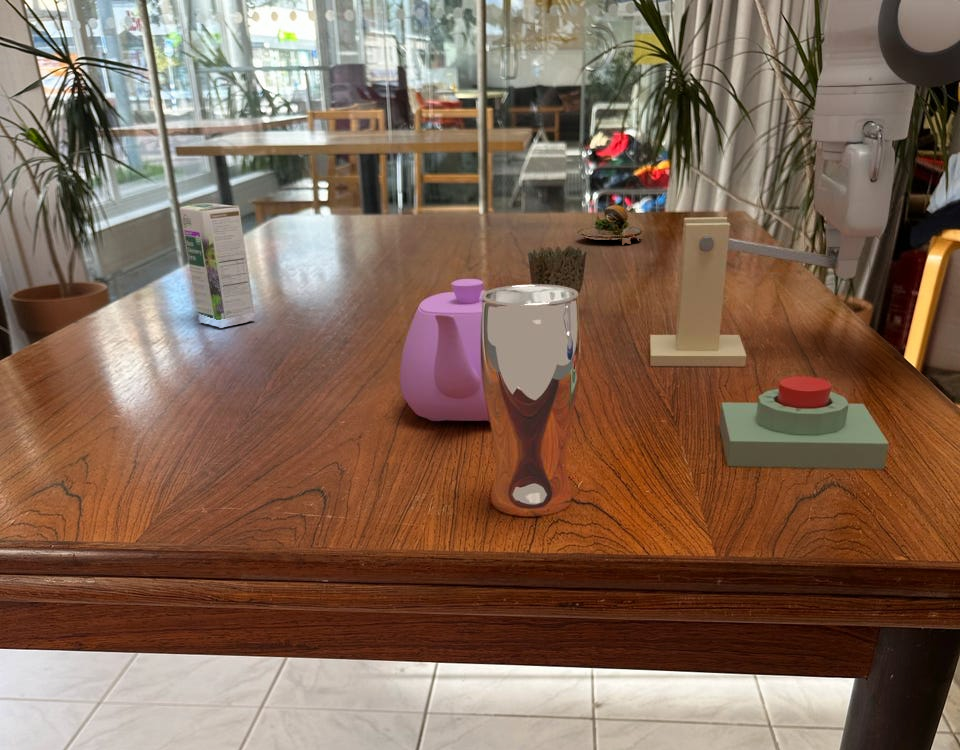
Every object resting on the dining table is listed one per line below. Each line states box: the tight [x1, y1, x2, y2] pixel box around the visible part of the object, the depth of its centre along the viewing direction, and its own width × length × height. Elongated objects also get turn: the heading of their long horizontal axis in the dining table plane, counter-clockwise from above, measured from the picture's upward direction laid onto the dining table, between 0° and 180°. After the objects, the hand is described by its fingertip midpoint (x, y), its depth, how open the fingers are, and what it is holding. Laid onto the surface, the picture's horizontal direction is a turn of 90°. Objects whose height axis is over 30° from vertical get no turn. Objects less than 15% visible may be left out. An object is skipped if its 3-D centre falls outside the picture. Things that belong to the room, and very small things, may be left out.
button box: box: [718, 388, 890, 470], centre depth 78 cm, size 12×10×4 cm
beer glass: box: [480, 283, 582, 518], centre depth 67 cm, size 7×7×15 cm
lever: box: [728, 237, 839, 271], centre depth 98 cm, size 16×5×2 cm, turn 81°
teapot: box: [399, 278, 490, 423], centre depth 87 cm, size 20×13×12 cm, turn 170°
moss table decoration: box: [577, 197, 643, 239], centre depth 172 cm, size 12×12×8 cm
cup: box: [527, 245, 588, 294], centre depth 122 cm, size 8×7×8 cm
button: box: [777, 376, 832, 409], centre depth 77 cm, size 4×4×2 cm
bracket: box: [649, 216, 747, 368], centre depth 101 cm, size 10×9×14 cm
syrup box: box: [179, 202, 255, 320], centre depth 123 cm, size 6×6×14 cm
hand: (839, 271), depth 98 cm, fingers closed on lever, 5 cm apart
